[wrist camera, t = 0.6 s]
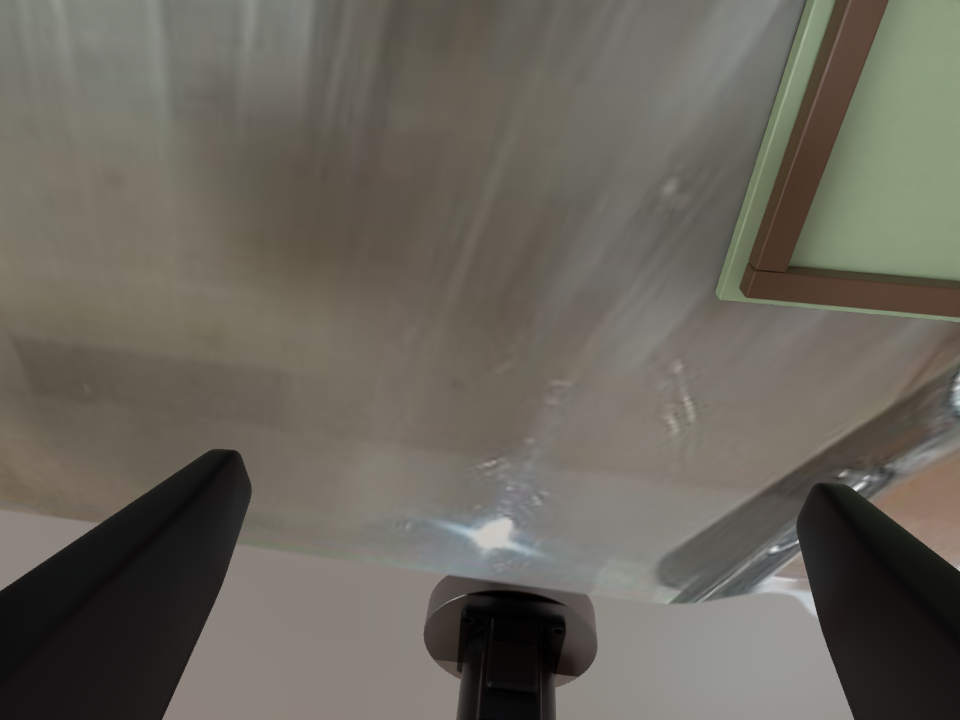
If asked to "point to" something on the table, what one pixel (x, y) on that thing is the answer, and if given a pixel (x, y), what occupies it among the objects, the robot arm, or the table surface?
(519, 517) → the table surface
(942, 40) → the base pad
